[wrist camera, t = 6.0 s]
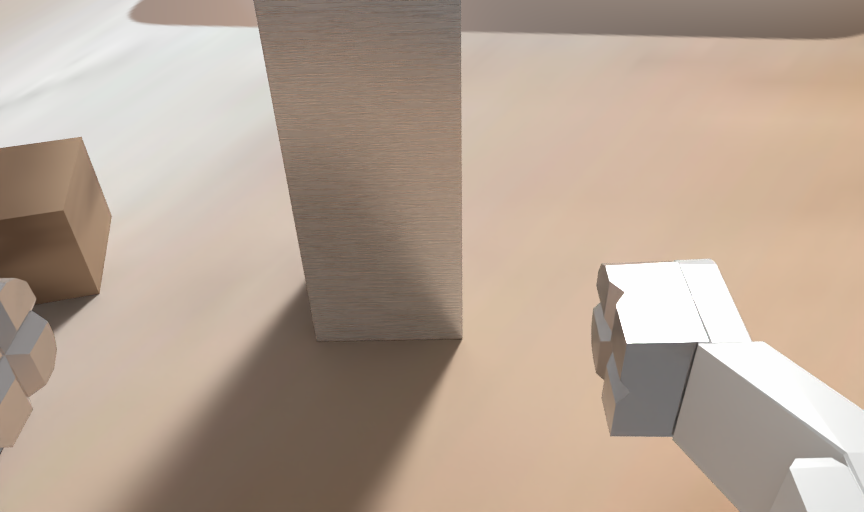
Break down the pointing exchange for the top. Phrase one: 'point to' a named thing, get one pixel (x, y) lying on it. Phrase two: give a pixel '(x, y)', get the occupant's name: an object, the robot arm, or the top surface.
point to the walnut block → (52, 219)
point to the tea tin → (372, 160)
